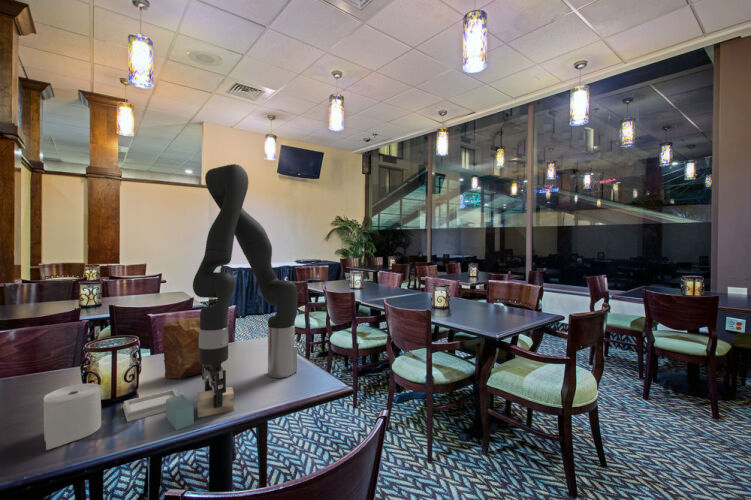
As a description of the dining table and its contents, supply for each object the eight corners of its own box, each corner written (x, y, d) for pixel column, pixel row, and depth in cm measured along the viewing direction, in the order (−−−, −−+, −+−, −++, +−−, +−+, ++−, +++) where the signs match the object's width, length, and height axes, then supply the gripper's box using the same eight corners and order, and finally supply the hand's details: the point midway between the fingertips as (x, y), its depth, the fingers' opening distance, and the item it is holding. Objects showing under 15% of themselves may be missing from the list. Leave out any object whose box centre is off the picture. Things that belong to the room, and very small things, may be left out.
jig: (175, 394, 107) (175, 388, 106) (183, 406, 99) (183, 399, 99) (123, 407, 98) (123, 400, 98) (127, 421, 90) (127, 414, 90)
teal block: (182, 412, 96) (182, 394, 96) (193, 424, 90) (193, 405, 89) (166, 417, 93) (166, 399, 93) (176, 430, 87) (176, 411, 87)
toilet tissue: (100, 416, 93) (99, 379, 93) (103, 435, 84) (102, 395, 84) (45, 430, 86) (44, 390, 86) (42, 453, 77) (41, 408, 77)
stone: (219, 364, 133) (218, 312, 132) (223, 373, 124) (223, 317, 123) (162, 373, 123) (161, 317, 122) (162, 384, 114) (161, 323, 113)
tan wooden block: (232, 403, 101) (232, 386, 101) (233, 411, 97) (233, 393, 97) (197, 410, 97) (197, 392, 97) (197, 418, 93) (197, 399, 93)
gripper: (236, 347, 94) (235, 407, 94) (220, 336, 105) (219, 389, 105) (206, 352, 89) (205, 415, 89) (192, 340, 100) (192, 396, 100)
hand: (213, 401), depth 97 cm, fingers open, 8 cm apart
